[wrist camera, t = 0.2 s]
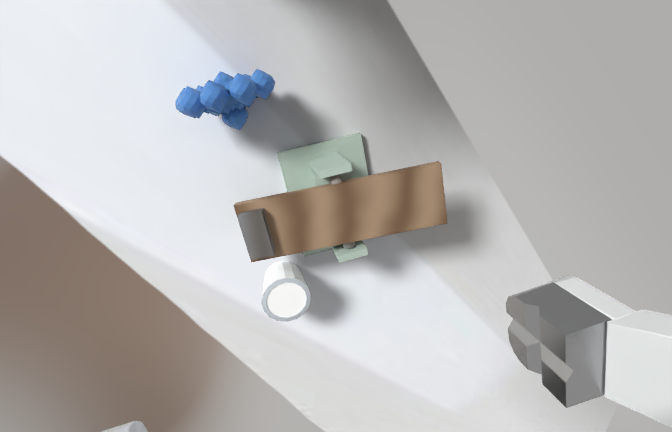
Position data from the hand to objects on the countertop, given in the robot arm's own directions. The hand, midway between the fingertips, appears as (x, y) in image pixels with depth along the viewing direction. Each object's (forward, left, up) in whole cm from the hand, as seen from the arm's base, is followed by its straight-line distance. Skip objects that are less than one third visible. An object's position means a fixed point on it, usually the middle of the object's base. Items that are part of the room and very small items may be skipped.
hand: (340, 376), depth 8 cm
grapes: (-5, -3, -48) cm, 48 cm away
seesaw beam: (+11, +7, -40) cm, 42 cm away
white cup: (+22, -3, -48) cm, 53 cm away
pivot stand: (+11, +7, -48) cm, 49 cm away
